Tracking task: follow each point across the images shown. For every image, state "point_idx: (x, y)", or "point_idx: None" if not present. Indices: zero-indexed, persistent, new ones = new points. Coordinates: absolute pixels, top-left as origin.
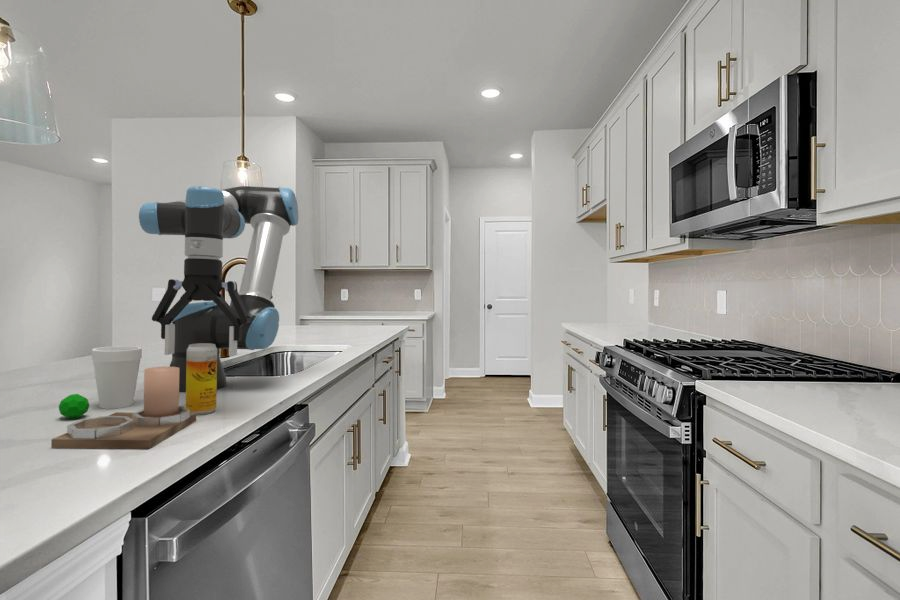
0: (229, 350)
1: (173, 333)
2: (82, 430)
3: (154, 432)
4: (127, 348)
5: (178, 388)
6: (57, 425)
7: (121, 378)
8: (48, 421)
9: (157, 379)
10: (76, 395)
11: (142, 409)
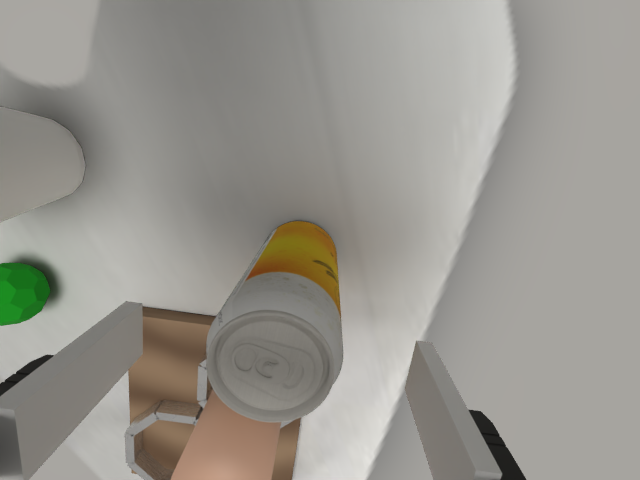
0: (413, 408)
1: (70, 377)
2: None
3: (280, 457)
4: None
5: (277, 436)
6: (48, 337)
7: (5, 217)
8: None
9: None
10: None
11: (199, 368)
